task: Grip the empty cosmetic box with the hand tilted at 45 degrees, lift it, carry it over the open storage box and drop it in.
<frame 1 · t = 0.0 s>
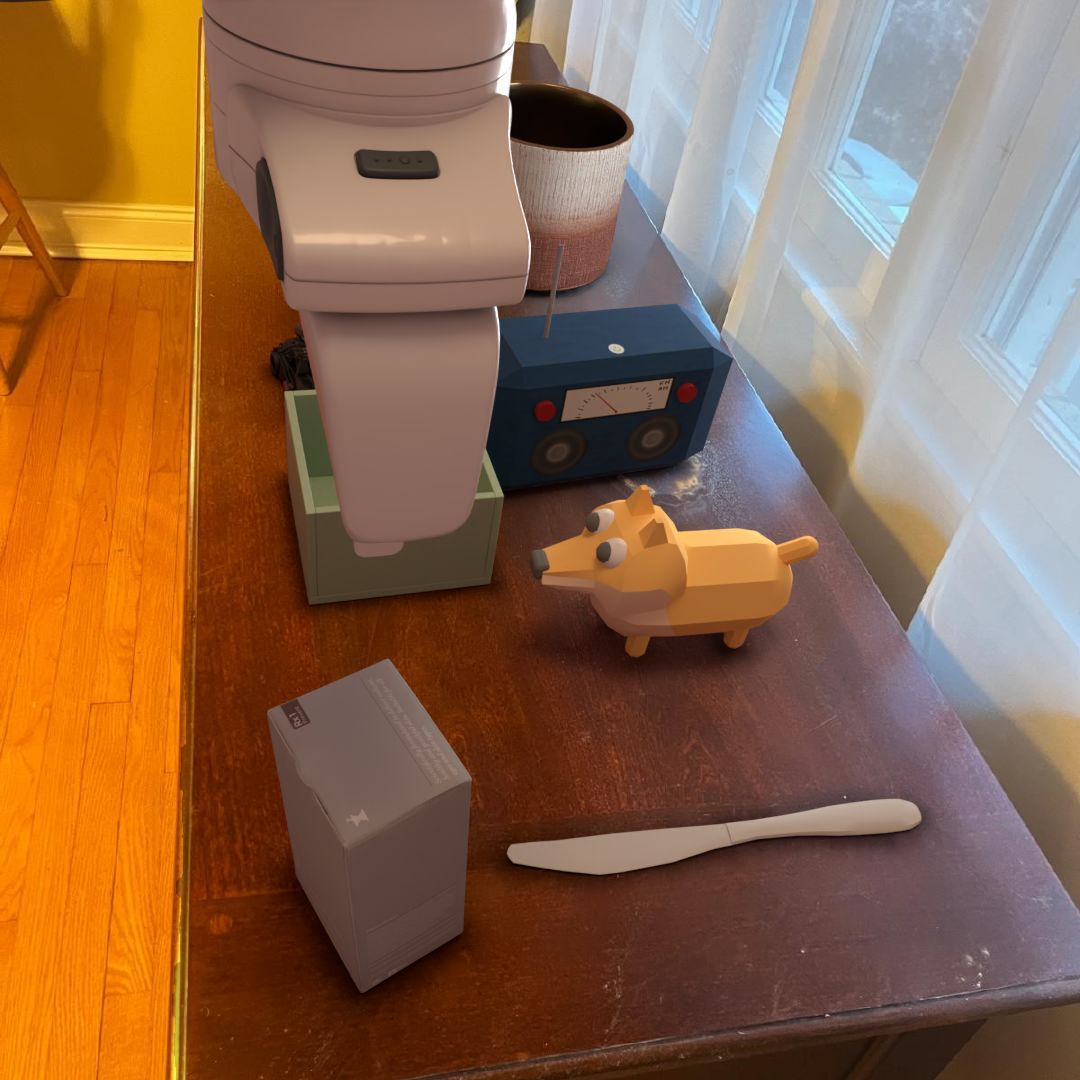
hand: (355, 461, 40), 27 cm above the sideboard top, tool pointing down, fingers open, 8 cm apart
planter: (527, 258, 109), on the sideboard top
toy car: (316, 394, 87), on the sideboard top
radio: (578, 457, 86), on the sideboard top
dog: (649, 634, 72), on the sideboard top
open storage box: (386, 531, 75), on the sideboard top
supplement tub: (419, 333, 96), on the sideboard top
butter knife: (722, 840, 60), on the sideboard top
cosmetic box: (369, 905, 55), on the sideboard top
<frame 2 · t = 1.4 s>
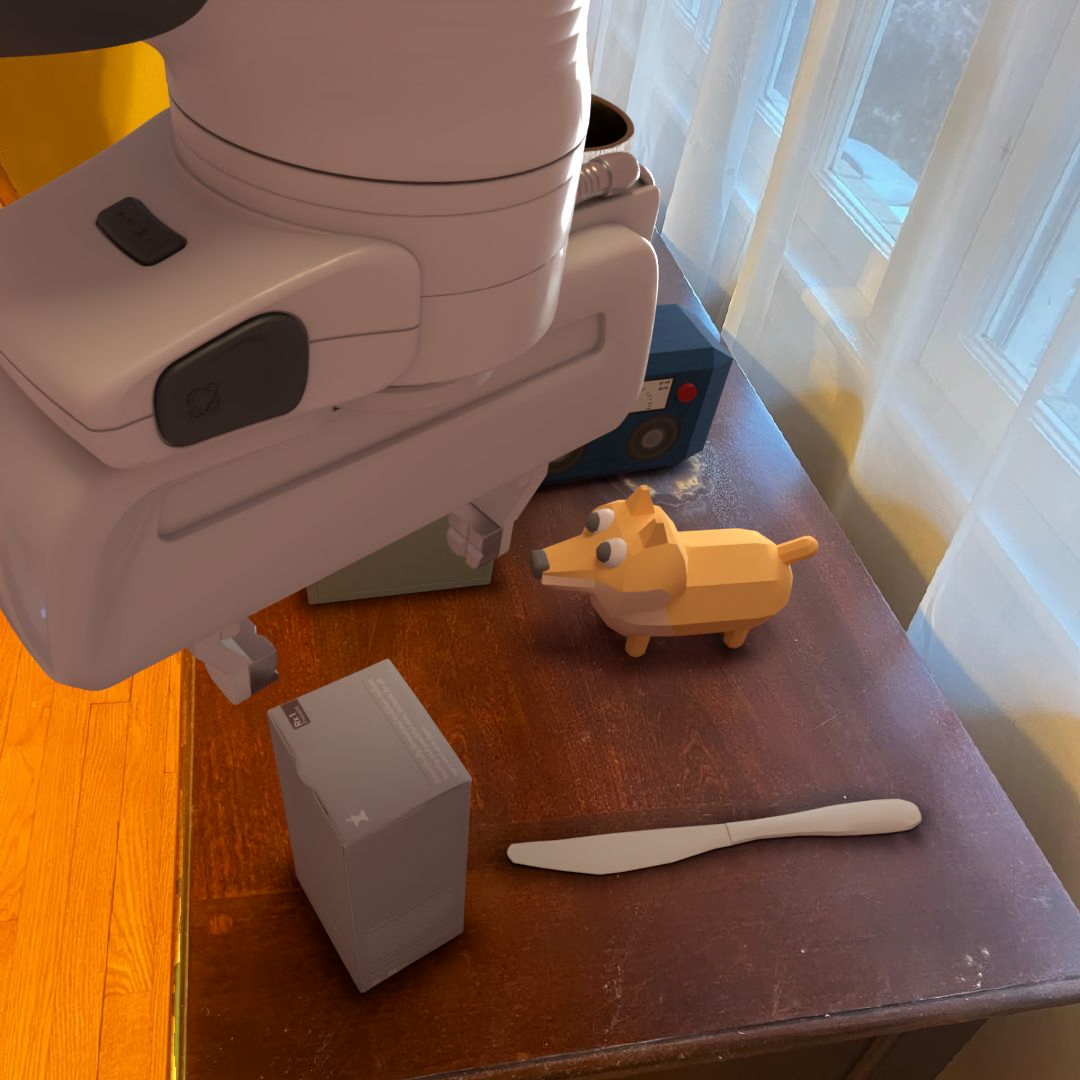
hand: (369, 610, 33), 28 cm above the sideboard top, tool pointing down, fingers open, 8 cm apart
nothing on the sideboard top moved.
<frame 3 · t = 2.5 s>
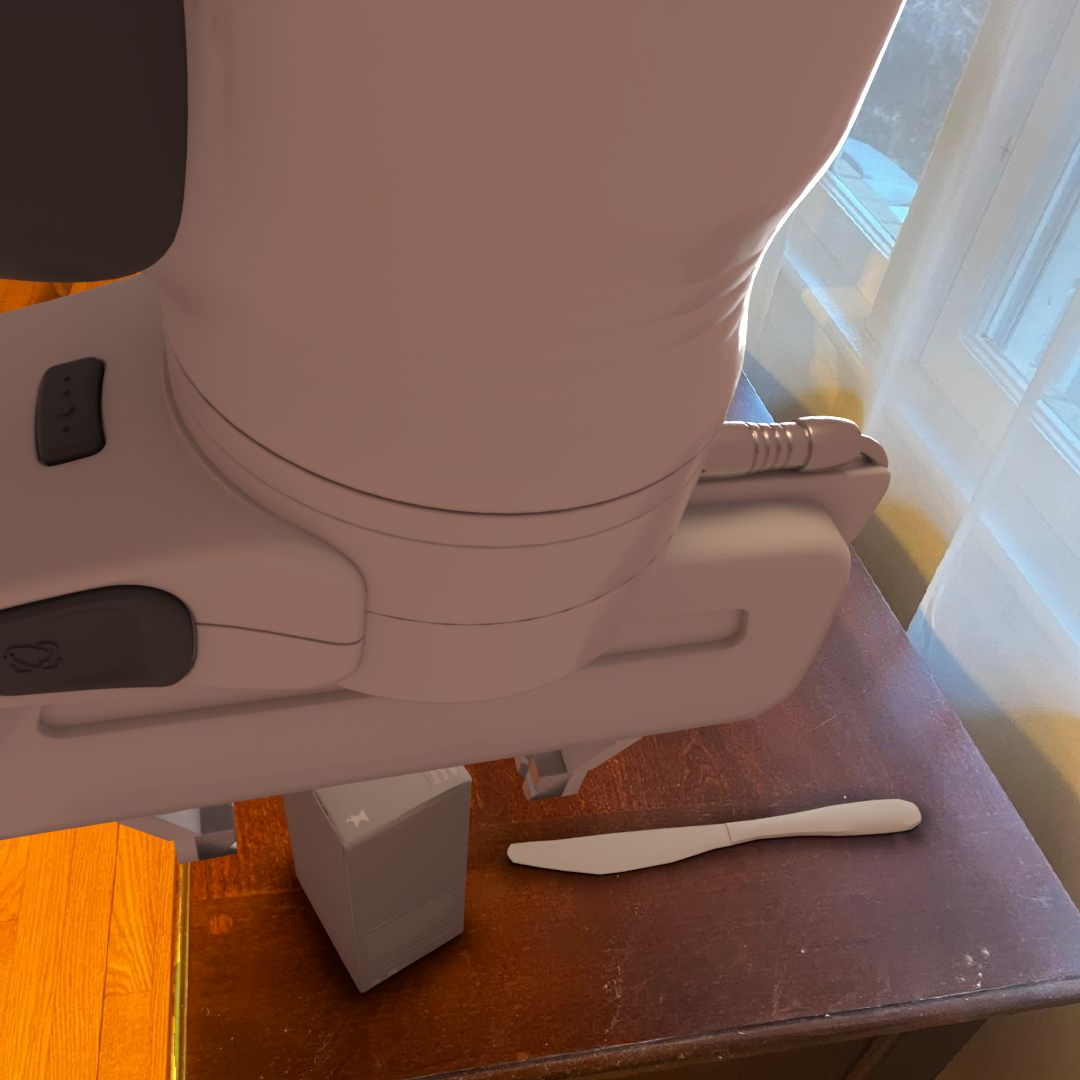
hand: (384, 803, 28), 28 cm above the sideboard top, tool pointing down, fingers open, 8 cm apart
nothing on the sideboard top moved.
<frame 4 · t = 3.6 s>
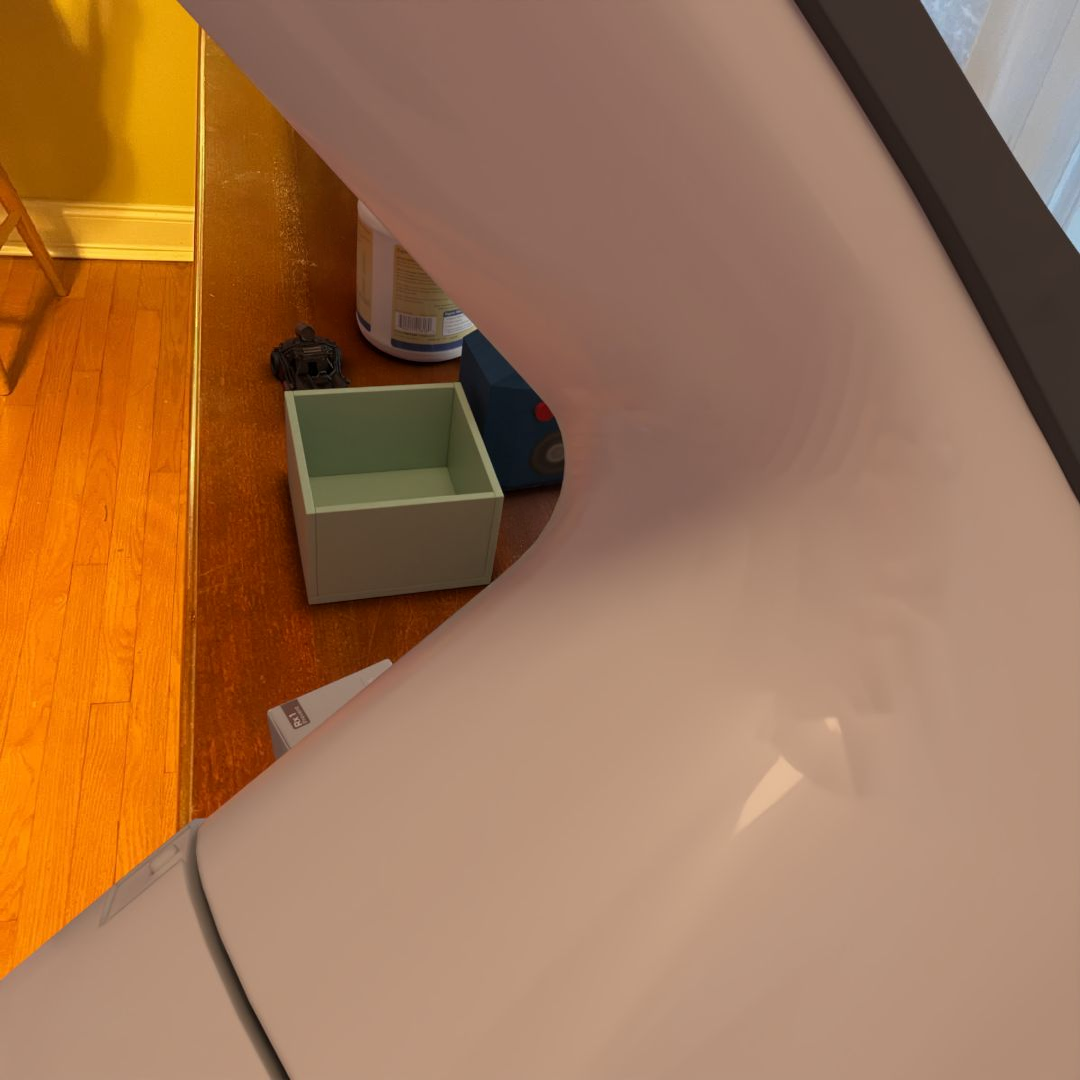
hand: (445, 987, 33), 19 cm above the sideboard top, tool tilted 45°, fingers open, 8 cm apart
nothing on the sideboard top moved.
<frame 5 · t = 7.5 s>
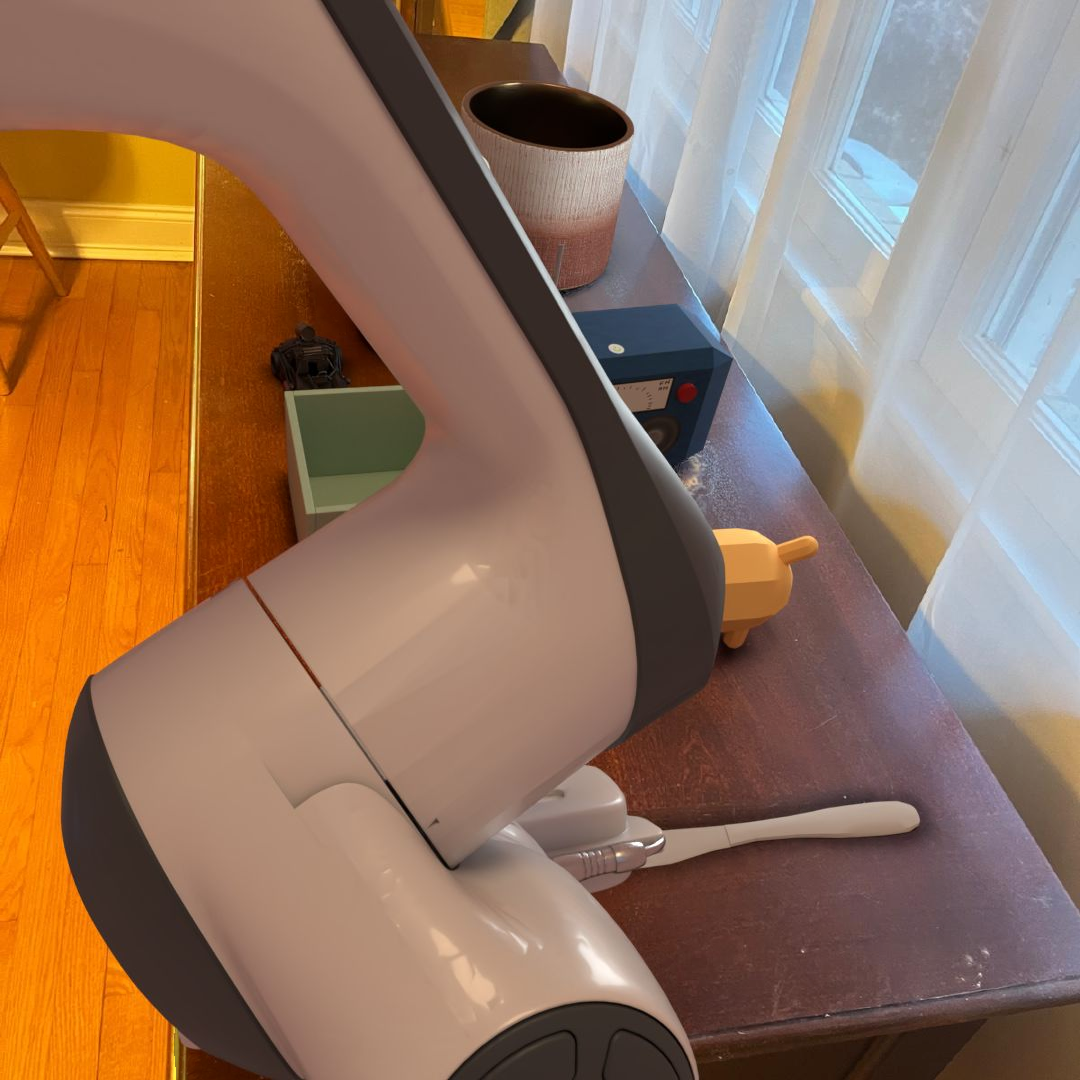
hand: (370, 808, 49), 9 cm above the sideboard top, tool tilted 45°, fingers closed on cosmetic box, 7 cm apart
cosmetic box: (369, 904, 55), on the sideboard top, touching gripper
everything else where it was.
when the fingers open (15 cm above the sideboard top, at t = 19.4 s): cosmetic box drops 5 cm, resting on open storage box.
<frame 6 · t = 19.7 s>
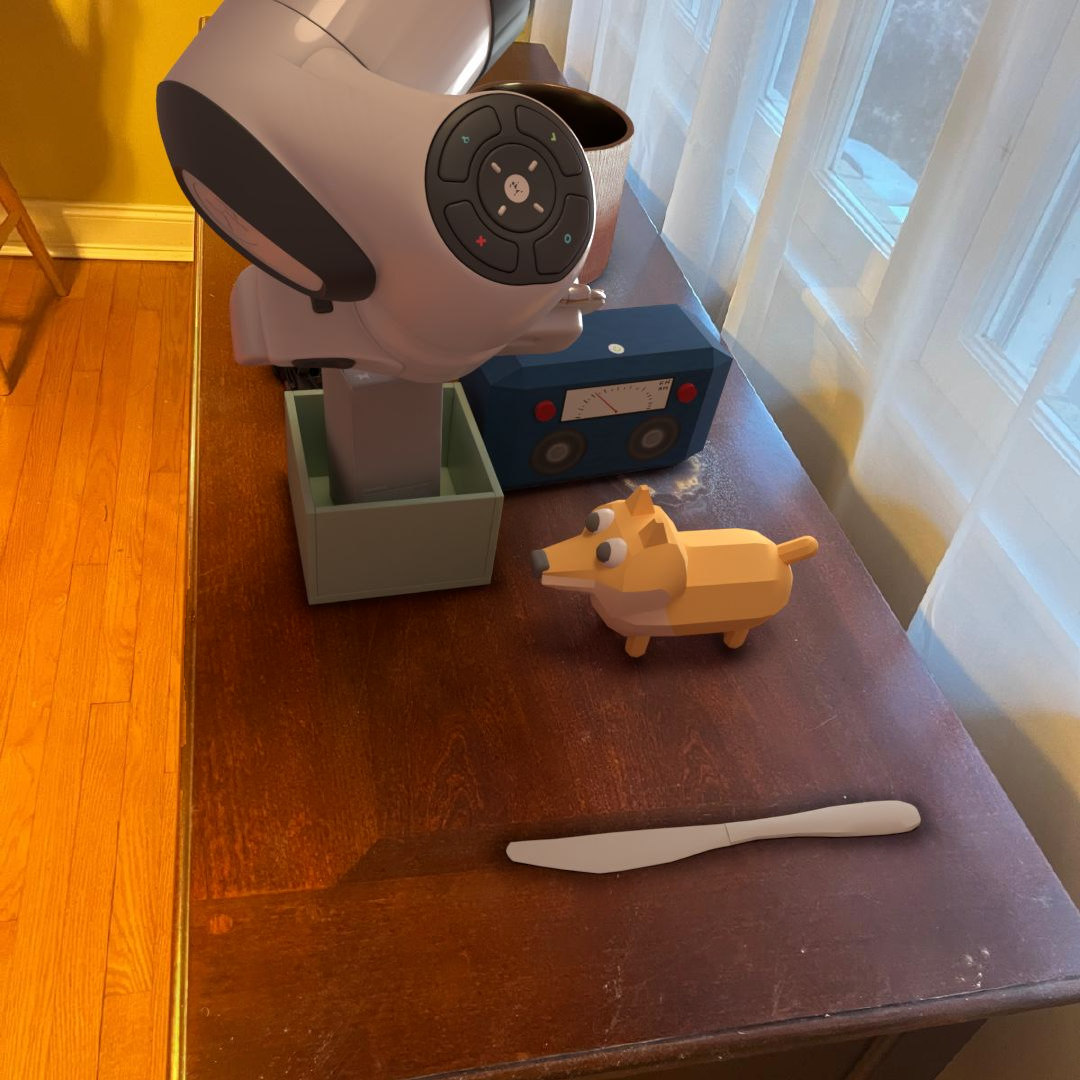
hand: (391, 346, 65), 16 cm above the sideboard top, tool tilted 45°, fingers open, 8 cm apart
cosmetic box: (377, 523, 75), point 1 cm above the sideboard top, touching gripper, open storage box
everything else where it was.
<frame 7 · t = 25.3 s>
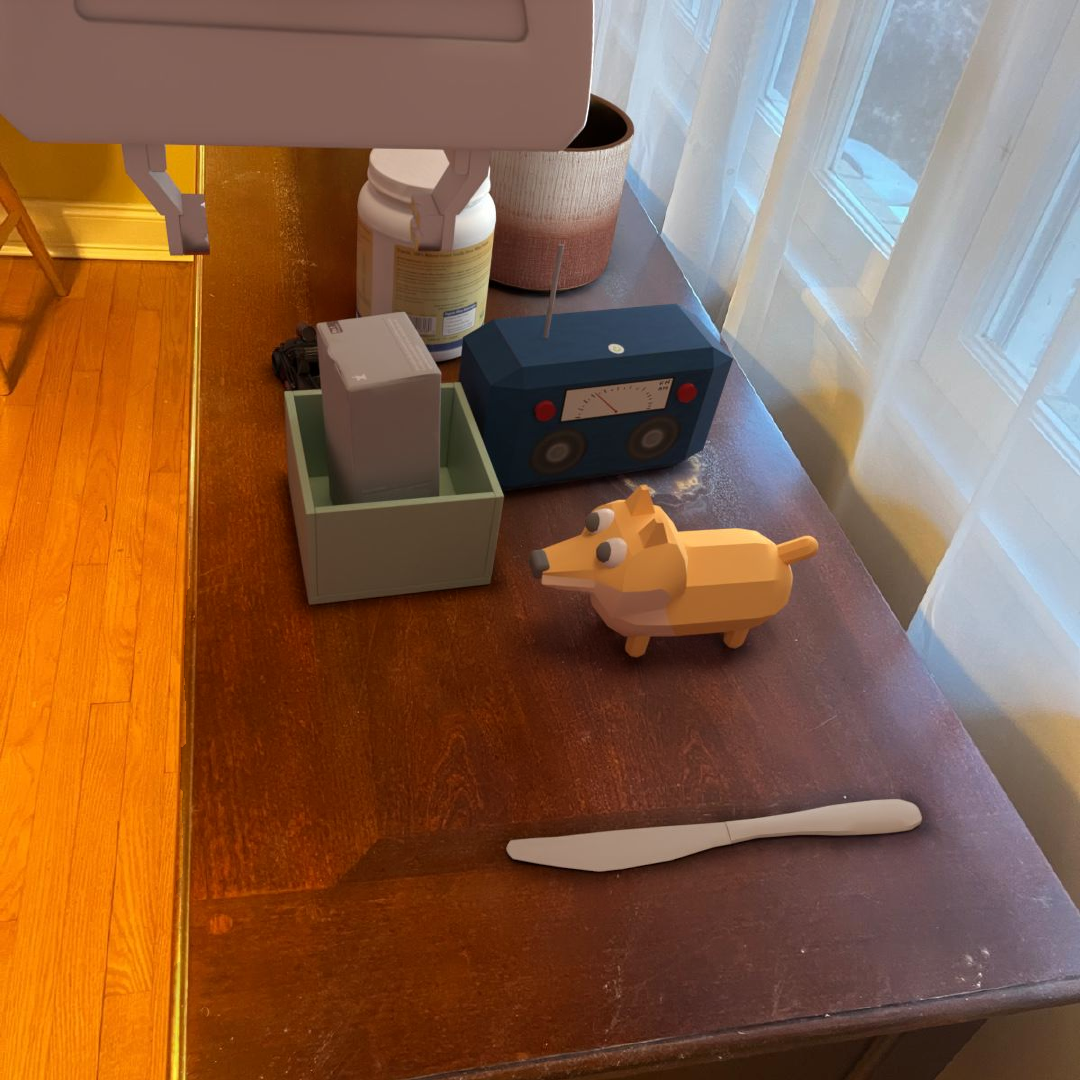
hand: (314, 247, 39), 33 cm above the sideboard top, tool pointing down, fingers open, 8 cm apart
cosmetic box: (377, 523, 75), point 1 cm above the sideboard top, touching open storage box
everything else where it was.
at the end: cosmetic box inside the target area in the open storage box (0.7 cm from its centre), point 0.6 cm above the open storage box's base; the gripper is holding nothing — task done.
